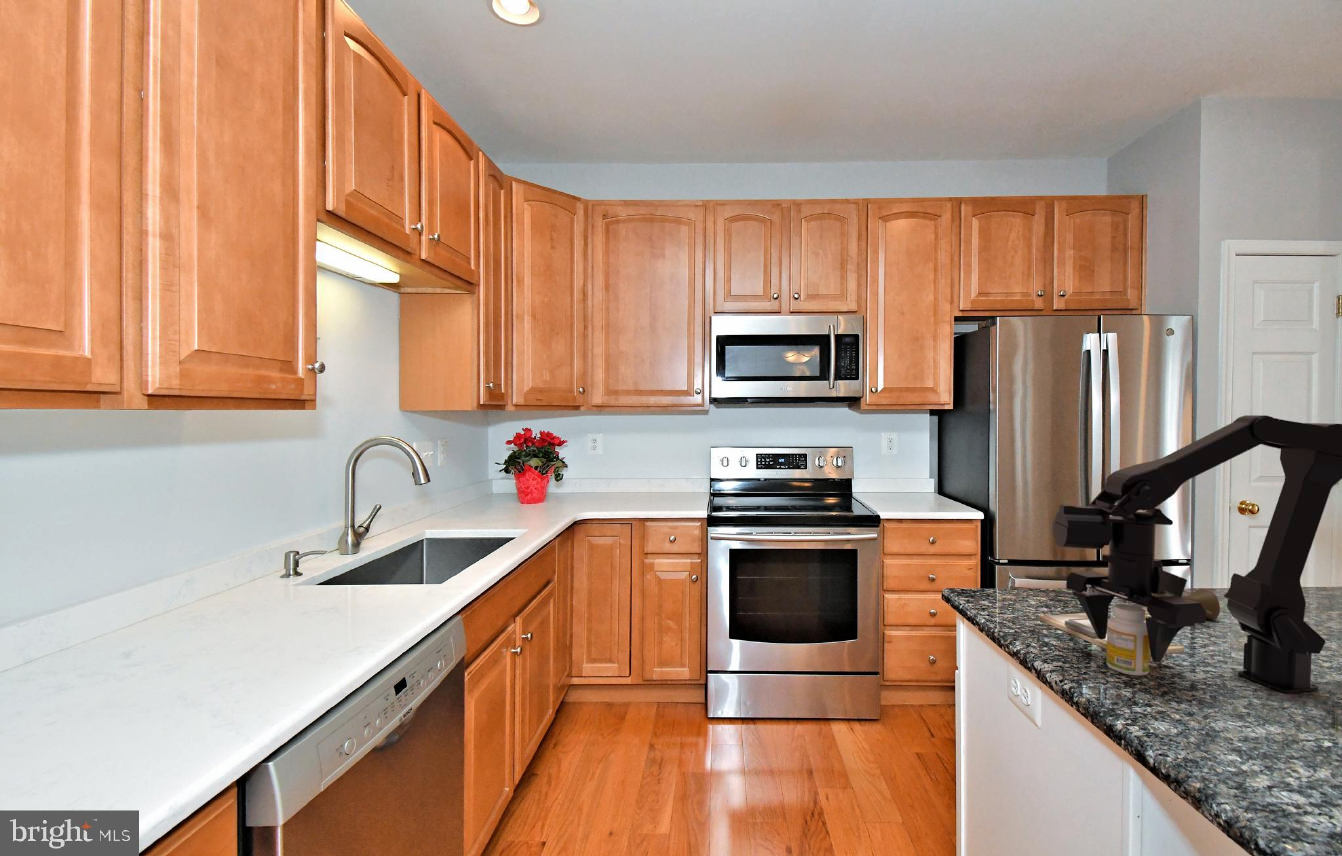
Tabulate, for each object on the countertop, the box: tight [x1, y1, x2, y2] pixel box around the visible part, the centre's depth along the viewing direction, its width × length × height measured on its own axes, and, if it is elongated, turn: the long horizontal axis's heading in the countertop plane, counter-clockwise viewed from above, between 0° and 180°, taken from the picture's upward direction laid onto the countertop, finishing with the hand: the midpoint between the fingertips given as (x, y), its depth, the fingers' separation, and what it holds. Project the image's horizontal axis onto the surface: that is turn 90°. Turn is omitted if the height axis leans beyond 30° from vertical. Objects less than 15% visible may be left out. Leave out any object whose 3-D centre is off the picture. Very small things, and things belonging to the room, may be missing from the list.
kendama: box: [1136, 588, 1221, 621], centre depth 124 cm, size 6×10×20 cm
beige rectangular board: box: [1038, 612, 1185, 656], centre depth 110 cm, size 18×12×2 cm, turn 11°
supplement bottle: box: [1105, 603, 1151, 676], centre depth 95 cm, size 5×5×10 cm
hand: (1128, 649), depth 95 cm, fingers open, 9 cm apart
